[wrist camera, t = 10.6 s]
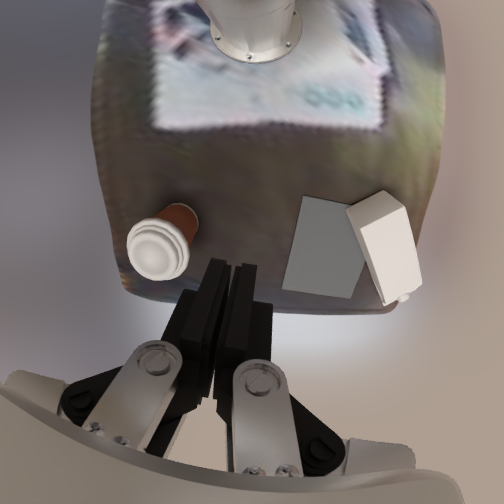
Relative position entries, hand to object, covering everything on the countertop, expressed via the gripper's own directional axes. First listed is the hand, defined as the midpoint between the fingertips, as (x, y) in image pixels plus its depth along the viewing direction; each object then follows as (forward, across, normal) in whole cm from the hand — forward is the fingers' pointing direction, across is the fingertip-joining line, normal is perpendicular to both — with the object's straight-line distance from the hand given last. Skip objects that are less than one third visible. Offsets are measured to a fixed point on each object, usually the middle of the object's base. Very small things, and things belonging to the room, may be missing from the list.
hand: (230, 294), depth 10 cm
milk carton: (+27, -16, +3) cm, 31 cm away
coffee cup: (+31, +12, +12) cm, 36 cm away
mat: (+31, -13, +13) cm, 36 cm away
